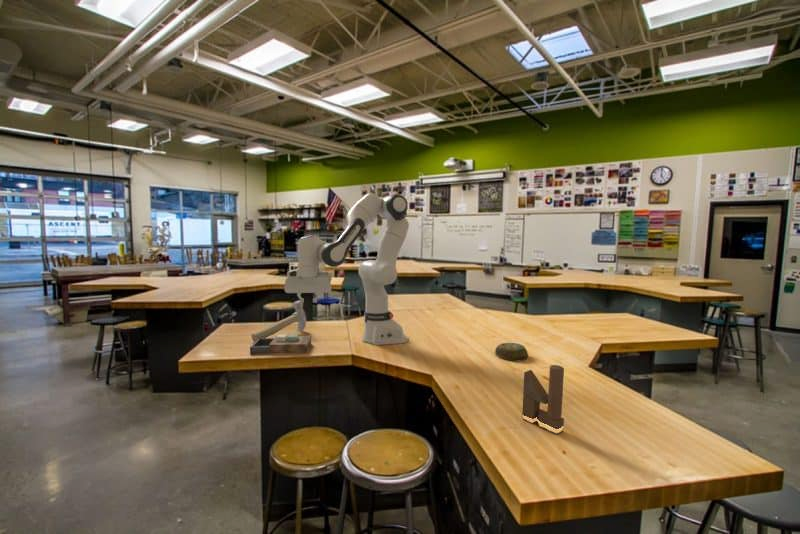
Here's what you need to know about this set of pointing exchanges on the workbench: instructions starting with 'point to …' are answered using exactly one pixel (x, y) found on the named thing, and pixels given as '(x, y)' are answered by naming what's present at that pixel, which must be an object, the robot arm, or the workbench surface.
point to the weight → (511, 351)
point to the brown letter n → (544, 397)
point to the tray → (261, 346)
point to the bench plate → (290, 345)
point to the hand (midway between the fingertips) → (308, 302)
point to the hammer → (284, 323)
